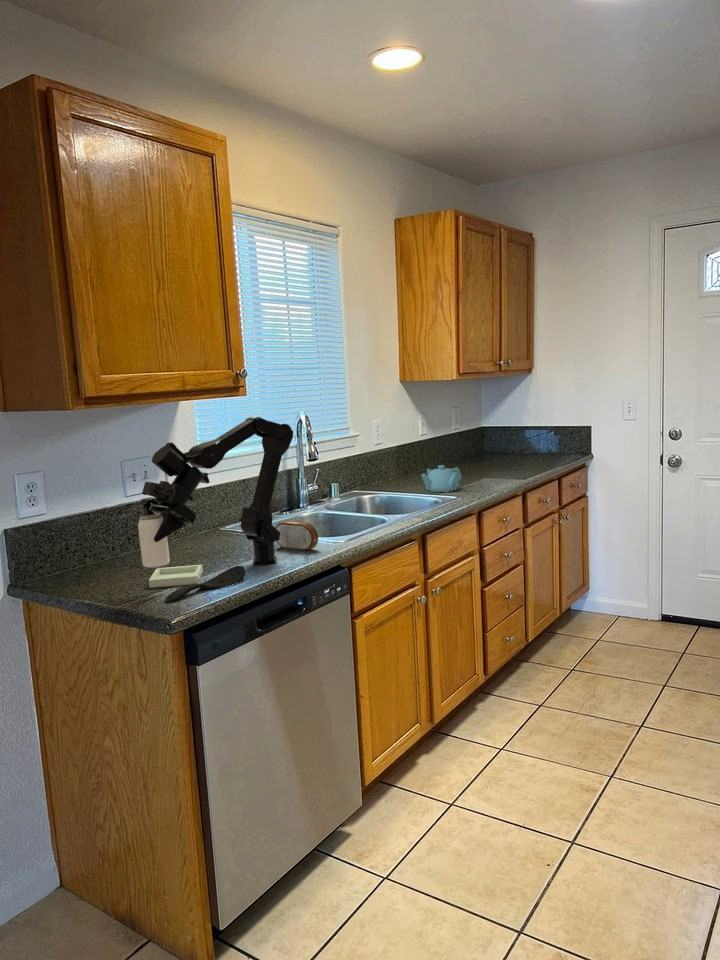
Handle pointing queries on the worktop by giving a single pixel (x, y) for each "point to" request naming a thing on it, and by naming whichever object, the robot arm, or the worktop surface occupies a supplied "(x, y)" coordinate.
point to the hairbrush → (211, 582)
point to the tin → (297, 535)
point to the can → (152, 542)
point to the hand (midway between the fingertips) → (148, 539)
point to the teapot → (442, 479)
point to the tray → (175, 576)
